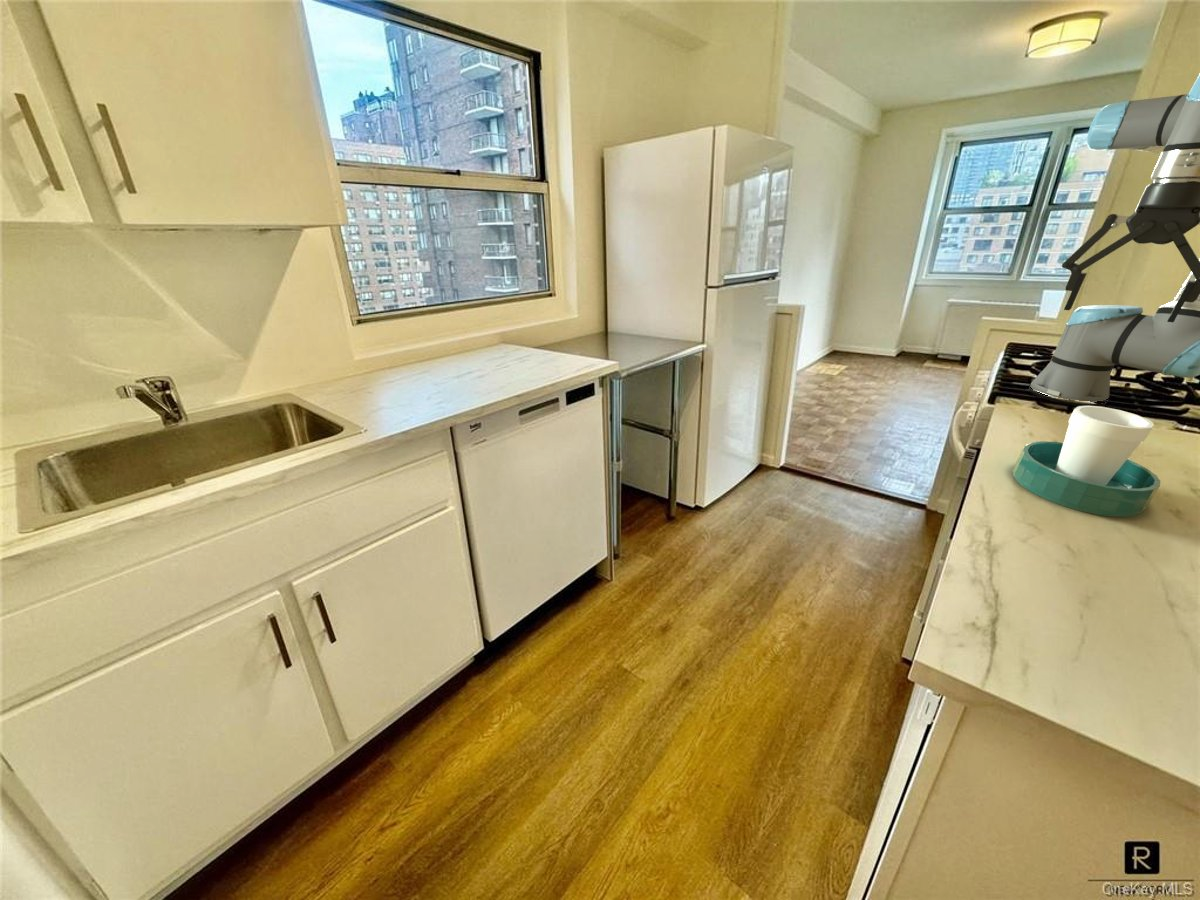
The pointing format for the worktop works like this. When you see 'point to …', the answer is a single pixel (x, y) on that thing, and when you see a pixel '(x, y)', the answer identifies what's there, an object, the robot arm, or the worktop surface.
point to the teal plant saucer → (1085, 483)
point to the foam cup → (1100, 442)
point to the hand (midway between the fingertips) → (1116, 315)
